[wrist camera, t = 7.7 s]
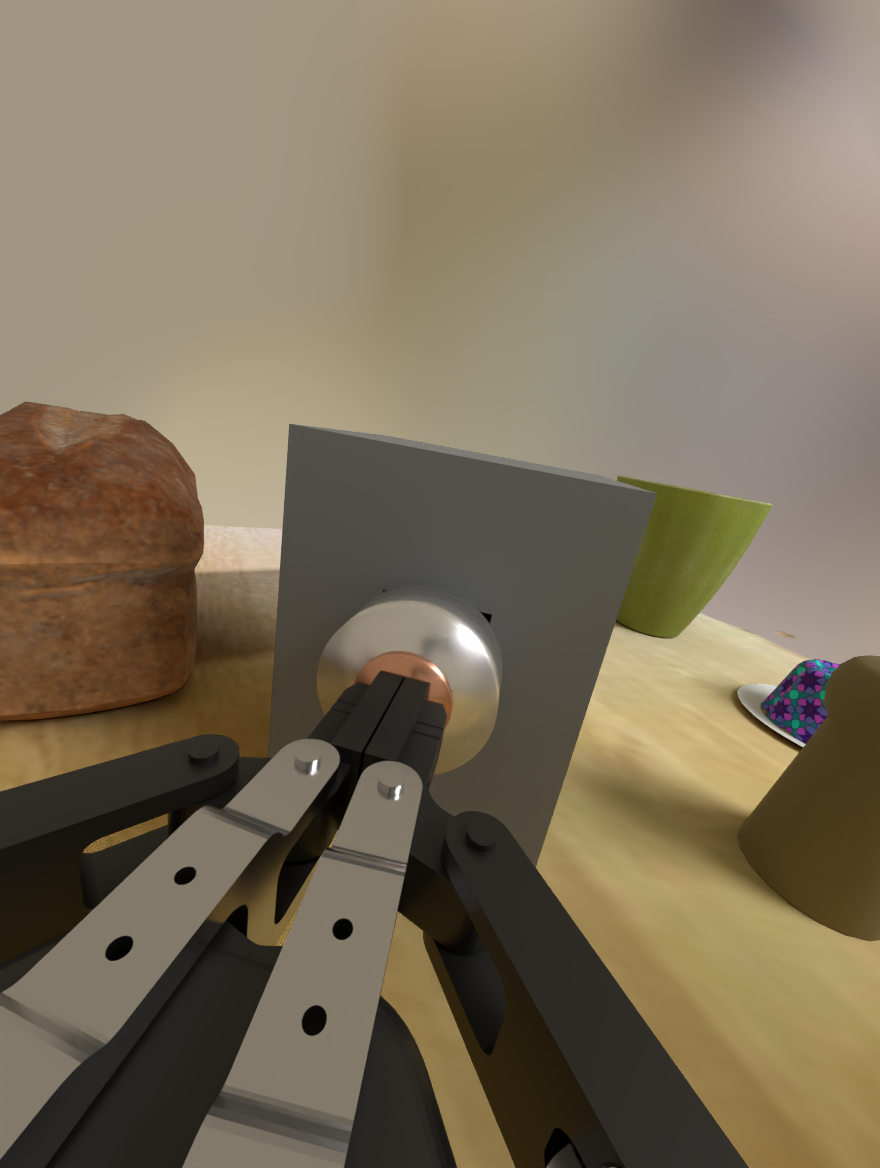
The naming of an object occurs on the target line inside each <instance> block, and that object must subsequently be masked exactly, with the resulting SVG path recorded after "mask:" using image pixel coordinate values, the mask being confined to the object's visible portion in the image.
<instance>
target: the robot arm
mask: <svg viewBox="0 0 880 1168" xmlns="http://www.w3.org/2000/svg"><path fill="white" fill-rule="evenodd" d="M430 685H431V683H430V682H426V681H422V680H418V679H414V678H410V677H406V678H405V676H402V675H398V674H394V673H391V672H387V671H383V670H381V671H380V672H379V673H378V674H377V676H376V677H375V679H374V680H373V682H372V683H371V685H368V684H365V683H361V682H358V683H356V684H354V685H352V686H350V687H349V688H347V689H345V690H344V692H343V693H342V694H341V695H340V697H339V698H338V699H337V702H335V703H334V704H333V706H332V707H331V709H330V710H329V711H328V712H327V714H326V715H325V716H324V717H323V719H322V720H321V721H320V723H319V724H318V725H317V726H316V728H315V729H314V730H313V732H312V733H311V734H310V736H309V737H308V738H307V739H302V740H297V741H294V742H292V743H290V744H288V745H286V746H285V747H283V748H282V749H281V750H280V751H279V752H278V753H277V754H276V755H275V756H274V757H272V758H247V757H239V747H238V745H237V743H236V742H235V741H234V740H232V739H231V738H229V737H226V736H222V735H214V734H210V735H201V736H196V737H193V738H189V739H185V740H182V741H178V742H175V743H171V744H168V745H164V746H161V747H157V748H154V749H150V750H146V751H143V752H139V753H136V754H132V755H129V756H125V757H122V758H118V759H114V760H111V761H107V762H104V763H100V764H97V765H93V766H90V767H86V768H83V769H79V770H75V771H72V772H68V773H65V774H61V775H58V776H54V777H51V778H47V779H43V780H40V781H36V782H33V783H29V784H26V785H22V786H19V787H15V788H12V789H8V790H4V791H1V792H0V1168H457V1166H456V1162H455V1159H454V1156H453V1153H452V1149H451V1146H450V1143H449V1140H448V1136H447V1133H446V1130H445V1127H444V1123H443V1120H442V1117H441V1114H440V1110H439V1107H438V1104H437V1101H436V1097H435V1094H434V1091H433V1088H432V1084H431V1081H430V1078H429V1075H428V1072H427V1069H426V1066H425V1063H424V1060H423V1058H422V1055H421V1053H420V1051H419V1049H418V1046H417V1044H416V1042H415V1040H414V1038H413V1036H412V1034H411V1033H410V1031H409V1029H408V1027H407V1026H406V1024H405V1022H404V1021H403V1020H402V1018H401V1017H400V1016H399V1014H398V1013H397V1012H396V1010H395V1009H394V1008H393V1007H392V1006H391V1005H390V1004H389V1003H388V1002H387V1001H386V1000H385V999H384V998H383V997H382V996H380V995H381V990H382V986H383V981H384V976H385V971H386V966H387V961H388V956H389V951H390V947H391V942H392V937H393V932H394V927H395V922H396V917H397V912H398V911H399V912H400V913H401V914H402V915H404V916H405V917H406V918H407V919H409V920H410V921H411V922H413V923H414V924H415V925H416V926H418V927H419V928H420V929H422V930H423V939H424V944H425V948H426V950H427V953H428V955H429V958H430V960H431V963H432V965H433V967H434V970H435V972H436V975H437V977H438V980H439V982H440V984H441V987H442V989H443V992H444V994H445V997H446V999H447V1002H448V1004H449V1006H450V1009H451V1011H452V1014H453V1016H454V1019H455V1021H456V1023H457V1026H458V1028H459V1031H460V1033H461V1036H462V1038H463V1040H464V1043H465V1045H466V1048H467V1050H468V1053H469V1055H470V1058H471V1060H472V1062H473V1065H474V1067H475V1070H476V1072H477V1075H478V1077H479V1079H480V1082H481V1084H482V1087H483V1089H484V1092H485V1094H486V1097H487V1099H488V1101H489V1104H490V1106H491V1109H492V1111H493V1114H494V1116H495V1118H496V1121H497V1123H498V1126H499V1128H500V1131H501V1133H502V1136H503V1138H504V1140H505V1143H506V1145H507V1148H508V1150H509V1153H510V1155H511V1157H512V1160H513V1162H514V1165H515V1167H516V1168H749V1167H748V1166H747V1165H746V1163H745V1162H744V1160H743V1159H742V1157H741V1156H740V1155H739V1153H738V1152H737V1150H736V1149H735V1148H734V1146H733V1145H732V1143H731V1142H730V1141H729V1139H728V1138H727V1136H726V1135H725V1134H724V1132H723V1131H722V1129H721V1128H720V1127H719V1125H718V1124H717V1122H716V1121H715V1120H714V1118H713V1117H712V1115H711V1114H710V1112H709V1111H708V1110H707V1108H706V1107H705V1105H704V1104H703V1103H702V1101H701V1100H700V1098H699V1097H698V1096H697V1094H696V1093H695V1091H694V1090H693V1089H692V1087H691V1086H690V1084H689V1083H688V1082H687V1080H686V1079H685V1077H684V1076H683V1074H682V1073H681V1072H680V1070H679V1069H678V1067H677V1066H676V1065H675V1063H674V1062H673V1060H672V1059H671V1058H670V1056H669V1055H668V1053H667V1052H666V1051H665V1049H664V1048H663V1046H662V1045H661V1044H660V1042H659V1041H658V1039H657V1038H656V1037H655V1035H654V1034H653V1032H652V1031H651V1029H650V1028H649V1027H648V1025H647V1024H646V1022H645V1021H644V1020H643V1018H642V1017H641V1015H640V1014H639V1013H638V1011H637V1010H636V1008H635V1007H634V1006H633V1004H632V1003H631V1001H630V1000H629V999H628V997H627V996H626V994H625V993H624V992H623V990H622V989H621V987H620V986H619V984H618V983H617V982H616V980H615V979H614V977H613V976H612V975H611V973H610V972H609V970H608V969H607V968H606V966H605V965H604V963H603V962H602V961H601V959H600V958H599V956H598V955H597V954H596V952H595V951H594V949H593V948H592V946H591V945H590V944H589V942H588V941H587V939H586V938H585V937H584V935H583V934H582V932H581V931H580V930H579V928H578V927H577V925H576V924H575V923H574V921H573V920H572V918H571V917H570V916H569V914H568V913H567V911H566V910H565V909H564V907H563V906H562V904H561V903H560V901H559V900H558V899H557V897H556V896H555V894H554V893H553V892H552V890H551V889H550V887H549V886H548V885H547V883H546V882H545V880H544V879H543V878H542V876H541V875H540V873H539V872H538V871H537V869H536V868H535V866H534V865H533V864H532V862H531V861H530V859H529V858H528V856H527V855H526V854H525V852H524V851H523V849H522V848H521V847H520V845H519V844H518V842H517V841H516V840H515V838H514V837H513V835H512V834H511V833H510V831H509V830H508V829H507V827H506V826H505V825H504V824H503V823H502V822H501V821H499V820H498V819H497V818H495V817H493V816H491V815H489V814H487V813H483V812H479V811H466V812H462V813H459V814H457V815H456V816H453V815H451V814H449V813H448V812H446V811H445V810H443V809H442V808H441V807H440V806H438V805H437V804H436V802H435V801H434V800H433V798H432V797H431V795H430V793H429V789H430V785H431V782H432V779H433V775H434V772H435V769H436V765H437V762H438V758H439V753H440V748H441V744H442V739H443V734H444V729H445V724H446V720H447V714H446V711H445V708H444V705H443V704H441V703H437V702H434V701H430V700H428V697H429V691H430ZM167 813H168V825H166V826H163V827H161V828H158V829H156V830H153V831H150V832H148V833H145V834H143V835H140V836H137V837H135V838H132V839H130V840H127V841H125V842H122V843H119V844H117V845H114V846H112V847H109V848H106V849H104V850H101V851H98V852H95V853H82V852H83V851H84V849H85V848H86V847H87V846H89V845H90V844H91V843H93V842H94V841H96V840H98V839H100V838H102V837H105V836H107V835H110V834H113V833H115V832H118V831H121V830H124V829H126V828H129V827H132V826H134V825H137V824H140V823H142V822H145V821H148V820H151V819H153V818H156V817H159V816H161V815H164V814H167ZM337 830H339V831H338V833H337V836H336V838H335V841H334V843H333V845H332V848H329V845H330V844H331V842H332V840H333V838H334V836H335V834H336V832H337ZM300 903H301V905H300ZM299 905H300V907H299ZM298 907H299V909H298V912H297V914H296V917H295V919H294V921H293V924H292V926H291V928H290V931H289V933H288V936H287V938H286V940H285V943H284V945H283V946H277V943H278V941H279V939H280V937H281V935H282V934H283V932H284V930H285V929H286V927H287V925H288V924H289V922H290V920H291V918H292V917H293V915H294V913H295V912H296V910H297V908H298Z"/></svg>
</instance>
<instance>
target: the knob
mask: <svg viewBox="0 0 880 1168" xmlns="http://www.w3.org/2000/svg"><path fill="white" fill-rule="evenodd" d="M502 669H503V661H502V653H501V649H500V645H499V642H498V639H497V637H496V634H495V632H494V630H493V629H492V627H491V625H490V624H489V622H488V621H487V620H486V618H485V617H484V616H483V615H482V614H481V613H480V612H479V611H478V610H477V609H476V608H475V607H474V606H473V605H472V604H470V603H469V602H468V601H466V600H465V599H463V598H462V597H460V596H458V595H456V594H454V593H452V592H450V591H447V590H444V589H441V588H438V587H433V586H427V585H406V586H400V587H396V588H393V589H390V590H387V591H385V592H383V593H381V594H379V595H377V596H376V597H374V598H373V599H372V600H370V601H369V602H368V603H367V604H366V605H365V606H364V607H362V608H361V609H360V610H359V611H358V612H357V613H356V614H355V615H354V616H353V617H352V618H351V619H349V620H348V621H347V622H346V623H345V624H344V625H343V626H342V627H341V628H340V629H339V630H338V631H337V632H336V633H335V634H334V635H333V636H332V637H331V639H330V640H329V642H328V643H327V644H326V646H325V648H324V650H323V652H322V655H321V658H320V661H319V664H318V670H317V693H318V698H319V702H320V706H321V708H322V711H323V714H324V716H325V715H326V714H327V712H328V711H329V710H330V709H331V707H332V706H333V704H334V703H335V702H337V699H338V698H339V697H340V695H341V694H342V693H343V692H344V690H345V689H347V688H349V687H350V686H352V685H354V684H356V683H358V682H361V683H365V684H368V685H371V683H372V682H373V680H374V679H375V677H376V676H377V674H378V673H379V672H380V671H381V670H383V671H387V672H391V673H394V674H398V675H402V676H405V678H406V677H410V678H414V679H418V680H422V681H426V682H430V683H431V685H430V691H429V697H428V700H430V701H434V702H437V703H441V704H443V705H444V708H445V711H446V714H447V720H446V724H445V729H444V734H443V739H442V744H441V748H440V753H439V758H438V762H437V765H436V769H435V772H434V775H436V774H440V773H445V772H448V771H450V770H453V769H456V768H458V767H459V766H461V765H463V764H465V763H466V762H468V761H469V760H470V759H472V758H473V757H474V756H475V755H476V754H477V753H478V752H479V751H480V750H481V749H482V748H483V746H484V745H485V744H486V742H487V741H488V739H489V737H490V735H491V733H492V731H493V728H494V725H495V722H496V717H497V712H498V704H499V696H500V688H501V680H502Z"/></svg>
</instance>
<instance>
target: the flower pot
mask: <svg viewBox="0 0 880 1168" xmlns="http://www.w3.org/2000/svg"><path fill="white" fill-rule="evenodd" d="M617 481H619V482H622V483H625V484H628V485H632V486H635V487H638V488H641V489H644V490H648V491H651V492H654V493H657V495H656V499H655V502H654V505H653V508H652V511H651V514H650V517H649V520H648V523H647V526H646V529H645V532H644V535H643V539H642V542H641V545H640V548H639V551H638V554H637V557H636V560H635V563H634V566H633V569H632V572H631V575H630V578H629V582H628V585H627V588H626V591H625V594H624V597H623V600H622V603H621V606H620V609H619V612H618V615H617V618H616V620H617V621H618V622H619V623H621V624H623V625H624V626H627V627H629V628H631V629H633V630H636V631H639V632H642V633H645V634H649V635H653V636H658V637H666V638H673V637H676V636H678V635H679V634H680V633H681V632H682V631H683V630H684V629H685V628H686V627H687V626H688V625H689V624H690V623H691V621H692V620H693V619H694V618H695V617H696V616H697V615H698V614H699V613H700V612H701V610H702V609H703V608H704V607H705V606H706V604H707V603H708V602H709V601H710V600H711V598H712V597H713V596H714V595H715V593H716V592H717V591H718V590H719V588H720V587H721V586H722V584H723V583H724V582H725V580H726V579H727V578H728V576H729V575H730V573H731V572H732V571H733V569H734V568H735V566H736V565H737V563H738V562H739V560H740V559H741V557H742V556H743V554H744V553H745V551H746V549H747V548H748V546H749V545H750V543H751V541H752V540H753V538H754V536H755V534H756V533H757V531H758V530H759V528H760V526H761V524H762V523H763V521H764V519H765V518H766V516H767V514H768V512H769V511H770V509H771V507H772V504H770V503H764V502H760V501H754V500H750V499H744V498H738V497H732V496H726V495H720V494H715V493H711V492H706V491H701V490H696V489H690V488H684V487H680V486H674V485H669V484H663V483H658V482H652V481H647V480H642V479H636V478H631V477H625V476H618V478H617Z"/></svg>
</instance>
